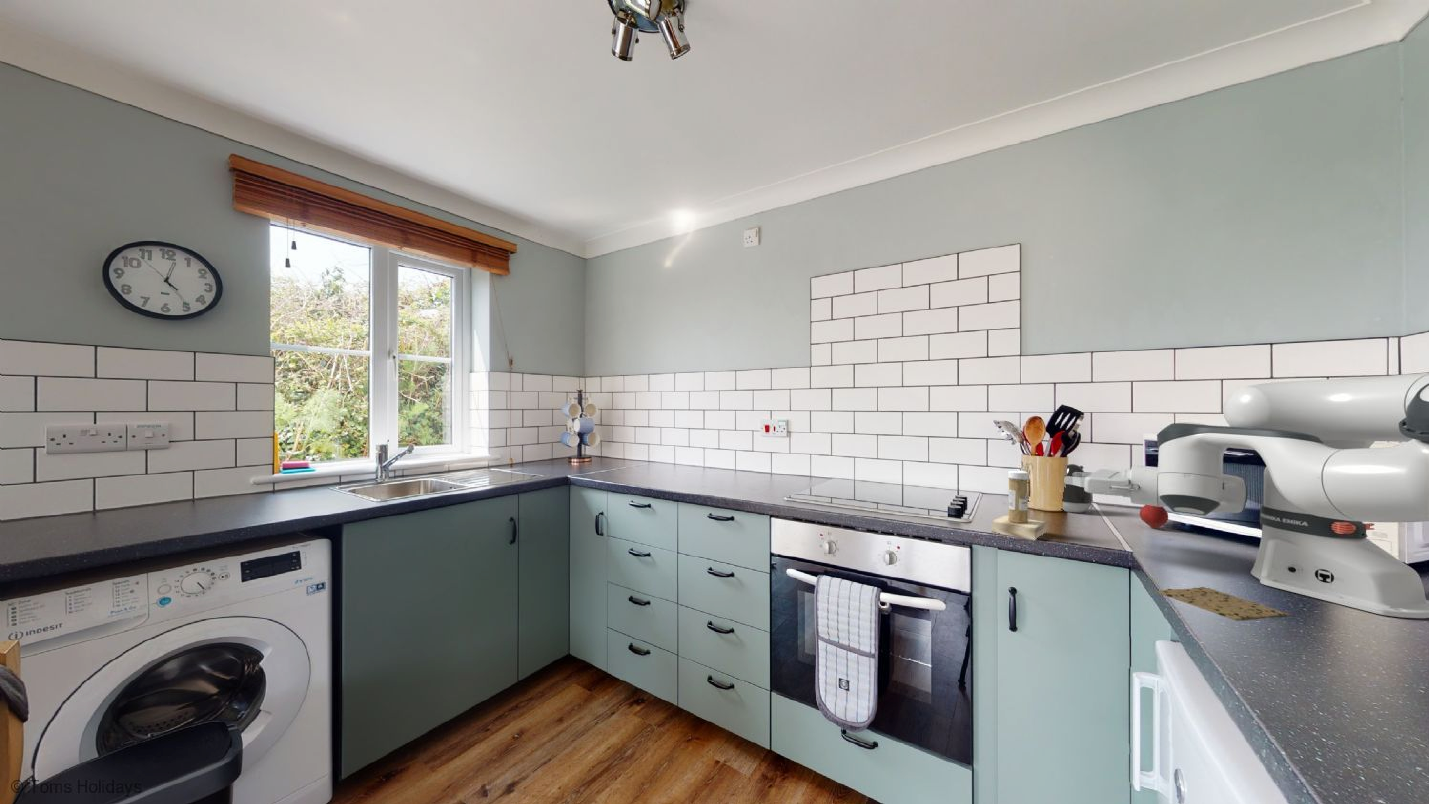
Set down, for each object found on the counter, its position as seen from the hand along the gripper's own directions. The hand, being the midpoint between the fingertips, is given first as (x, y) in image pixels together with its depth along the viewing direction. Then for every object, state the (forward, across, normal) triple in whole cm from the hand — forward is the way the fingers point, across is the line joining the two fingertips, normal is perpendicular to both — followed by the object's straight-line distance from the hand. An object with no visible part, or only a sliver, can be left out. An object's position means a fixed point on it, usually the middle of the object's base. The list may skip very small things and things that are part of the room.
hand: (1068, 477), depth 122 cm
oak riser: (+11, 0, -16) cm, 19 cm away
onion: (-14, +34, -16) cm, 40 cm away
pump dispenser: (+7, +44, -17) cm, 47 cm away
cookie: (-27, -26, -16) cm, 41 cm away
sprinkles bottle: (+11, 0, -13) cm, 17 cm away
